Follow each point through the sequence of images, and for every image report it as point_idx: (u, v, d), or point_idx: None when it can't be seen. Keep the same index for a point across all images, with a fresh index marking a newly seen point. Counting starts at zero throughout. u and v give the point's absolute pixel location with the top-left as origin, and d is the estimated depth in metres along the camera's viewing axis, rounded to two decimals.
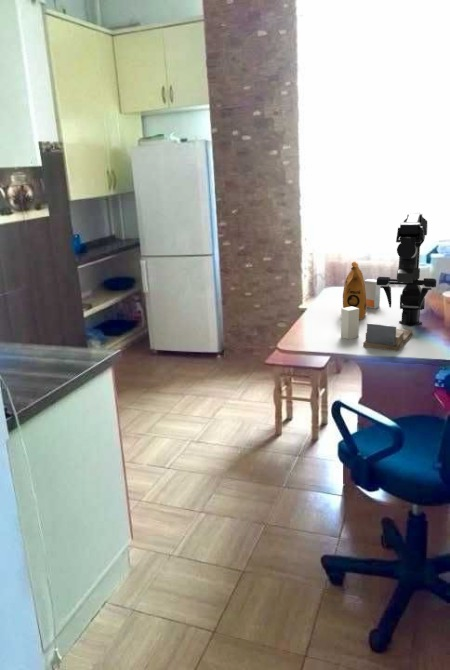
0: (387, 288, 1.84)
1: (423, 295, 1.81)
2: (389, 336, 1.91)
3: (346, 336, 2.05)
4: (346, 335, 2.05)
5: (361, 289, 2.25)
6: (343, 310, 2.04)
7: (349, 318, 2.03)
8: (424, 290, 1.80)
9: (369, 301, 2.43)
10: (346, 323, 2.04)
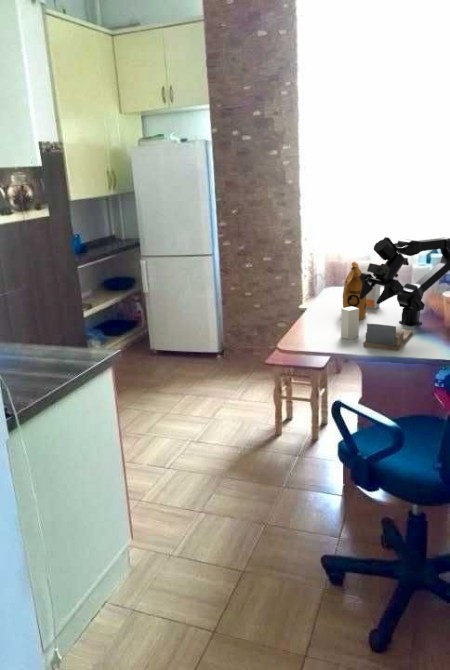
0: (363, 281, 2.11)
1: (384, 292, 2.02)
2: (389, 336, 1.91)
3: (346, 336, 2.05)
4: (346, 335, 2.05)
5: None
6: (343, 310, 2.04)
7: (349, 318, 2.03)
8: (385, 287, 2.02)
9: (369, 301, 2.43)
10: (346, 323, 2.04)
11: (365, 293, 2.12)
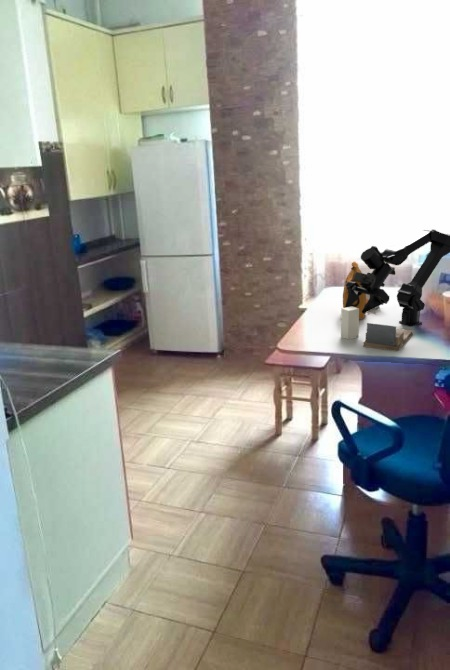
0: (350, 290, 2.09)
1: (369, 301, 2.00)
2: (389, 336, 1.91)
3: (346, 336, 2.05)
4: (346, 335, 2.05)
5: None
6: (343, 310, 2.04)
7: (349, 318, 2.03)
8: (371, 296, 2.00)
9: None
10: (346, 323, 2.04)
11: (351, 302, 2.10)
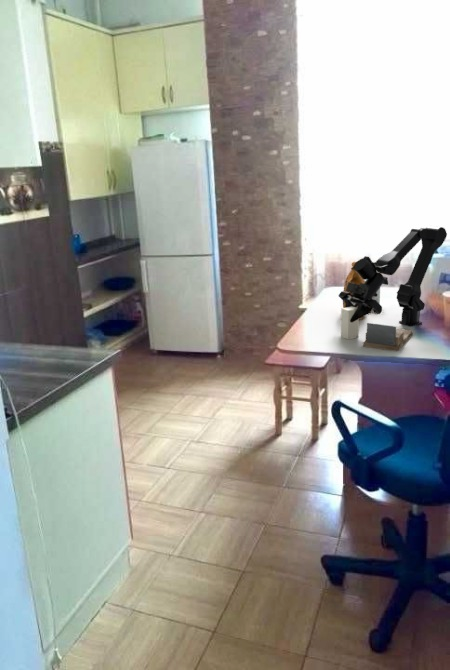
0: (347, 301, 2.07)
1: (357, 310, 2.02)
2: (389, 336, 1.91)
3: (346, 336, 2.05)
4: (346, 335, 2.05)
5: None
6: (343, 310, 2.04)
7: (349, 318, 2.03)
8: (359, 305, 2.01)
9: None
10: (346, 323, 2.04)
11: None
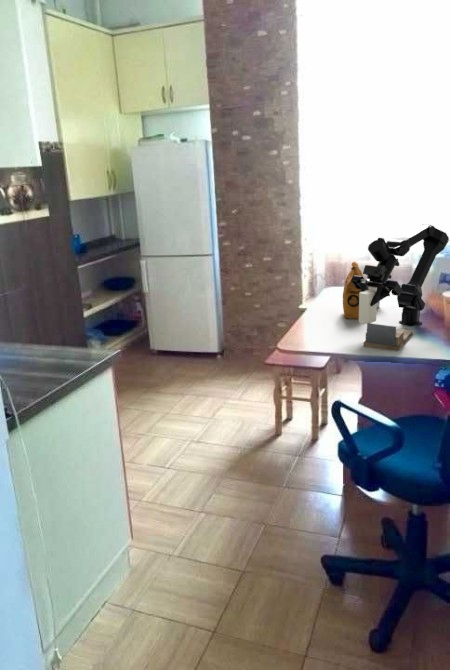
0: (362, 285, 2.01)
1: (377, 293, 1.96)
2: (389, 336, 1.91)
3: (366, 321, 1.99)
4: (366, 320, 1.99)
5: None
6: (362, 294, 1.97)
7: (369, 302, 1.96)
8: (379, 288, 1.96)
9: None
10: (365, 307, 1.97)
11: None
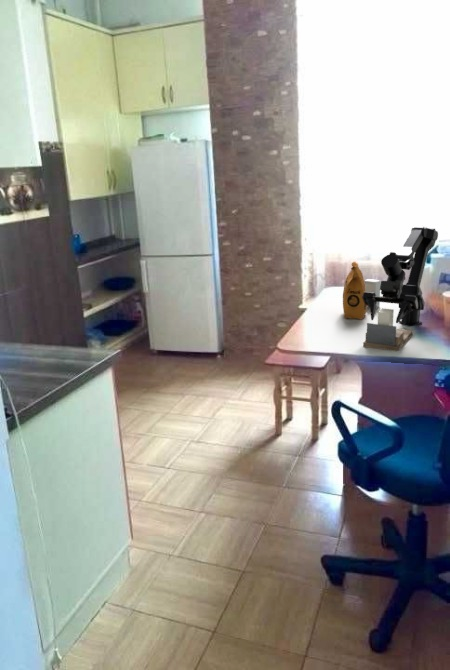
0: (371, 300, 1.97)
1: (402, 309, 1.91)
2: (389, 336, 1.91)
3: None
4: None
5: (361, 289, 2.25)
6: (381, 313, 1.92)
7: (389, 321, 1.92)
8: (403, 304, 1.91)
9: None
10: None
11: (374, 313, 1.97)
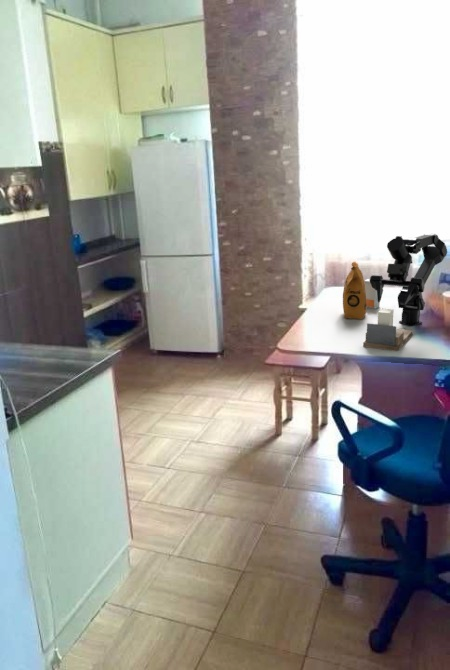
0: (378, 283, 2.02)
1: (409, 291, 1.96)
2: (389, 336, 1.91)
3: None
4: None
5: (361, 289, 2.25)
6: (381, 313, 1.92)
7: (389, 321, 1.92)
8: (411, 286, 1.96)
9: (369, 301, 2.43)
10: None
11: (380, 296, 2.03)
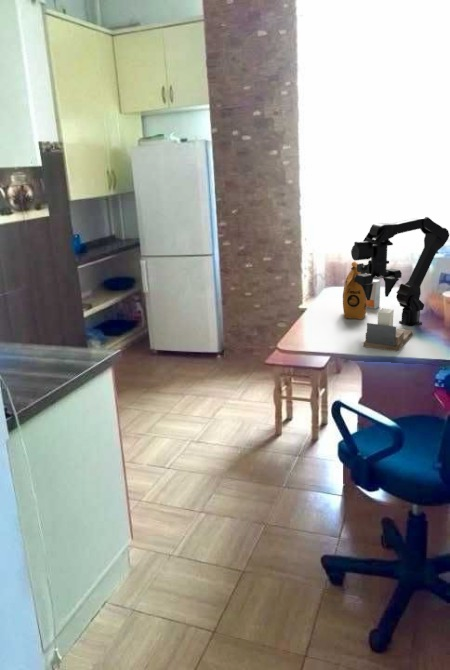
0: None
1: None
2: (389, 336, 1.91)
3: None
4: None
5: (361, 289, 2.25)
6: (381, 313, 1.92)
7: (389, 321, 1.92)
8: None
9: (369, 301, 2.43)
10: None
11: (388, 289, 2.13)
